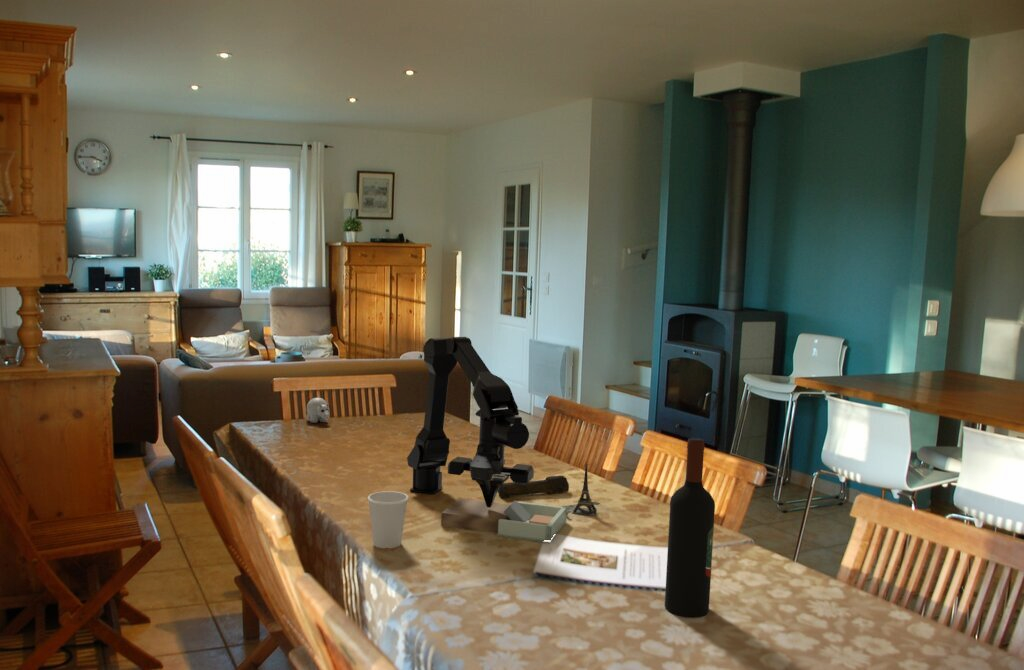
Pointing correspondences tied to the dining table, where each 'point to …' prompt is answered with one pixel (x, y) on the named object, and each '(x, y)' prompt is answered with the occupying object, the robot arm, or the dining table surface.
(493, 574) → the dining table surface
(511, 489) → the hand tool
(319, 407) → the chubby cartoon animal
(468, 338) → the robot arm
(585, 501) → the eiffel tower figurine
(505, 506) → the plate
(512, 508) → the tile slate
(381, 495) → the dixie cup
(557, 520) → the tray
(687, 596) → the wine bottle
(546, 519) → the tile terracotta
